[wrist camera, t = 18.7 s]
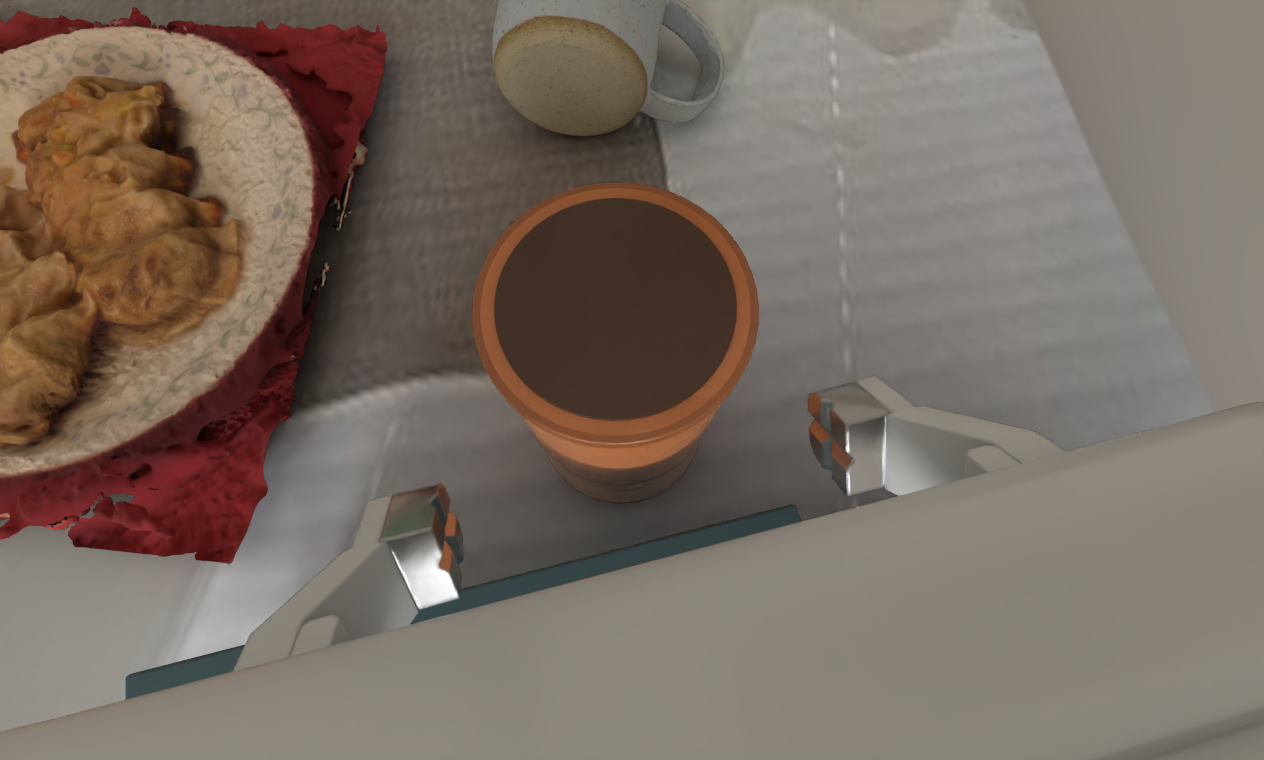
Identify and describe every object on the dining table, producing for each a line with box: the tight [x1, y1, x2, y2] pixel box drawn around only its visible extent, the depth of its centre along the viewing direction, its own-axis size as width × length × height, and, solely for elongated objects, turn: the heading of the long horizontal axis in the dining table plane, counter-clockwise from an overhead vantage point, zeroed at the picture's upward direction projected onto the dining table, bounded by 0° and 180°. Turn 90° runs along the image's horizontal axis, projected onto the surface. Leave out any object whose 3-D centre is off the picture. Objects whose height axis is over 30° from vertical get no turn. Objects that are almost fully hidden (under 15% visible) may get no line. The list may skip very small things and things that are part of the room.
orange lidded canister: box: [472, 182, 759, 503], centre depth 21 cm, size 7×7×12 cm
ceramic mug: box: [492, 0, 724, 136], centre depth 28 cm, size 11×8×8 cm
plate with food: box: [0, 6, 387, 564], centre depth 27 cm, size 24×26×4 cm
